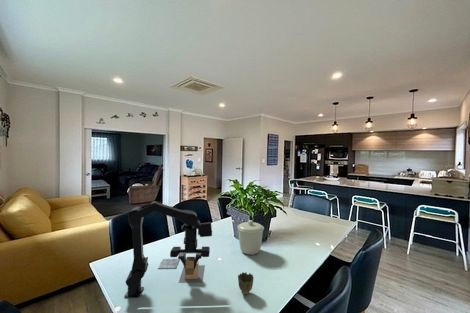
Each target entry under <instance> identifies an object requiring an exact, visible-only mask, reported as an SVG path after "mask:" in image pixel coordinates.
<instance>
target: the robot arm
mask: <svg viewBox="0 0 470 313" xmlns="http://www.w3.org/2000/svg"><path fill="white" fill-rule="evenodd" d="M153 212H154V213H158V214H162V215H165V216H167V217H171V218H174V219H177V220H179V221H181V223H183V225H181V227H180V228H181V229H180V230H181V231H184V238H183V245H184V248H183V249H182V248H181V246H173V247H172V248H171V250H170V252H169V257H170V258H177V259H180V260H179V261H180V262H181V263H182V265H183V268H185V269H186V258H187V255H188V254H190V255H191V254H193V255H195V256H194V257H195V263H194V269H195V267H196V264H197V262H199V260H200V259H202V258H208V257H210V253H211V248H210V246H201V248H198V239H197V235H198V236H199V237H200V238H208V237H212V236H213V230H212V222H211V221H209V222H201V221H200V220H199V218H198V215H197V213H196V212H195V211H194V210H189V209H178V208H176V207H173V206H170V205H168V204H164V203H160V202H158V201H156V200H154V201H152V202H150V203H146V204H145V205H141V206H135V207H133V208H132V209H131V210H130V212H128V214H127V220H128V224H129V226H130V227H131V231H132V232H131V233H132V234H131V235H132V250H133V262H132V265H131V269H130V271H129V274H128V275H127V277H126V279H125V284H126V286H127V292H126V293H125V295H124V298H139V297H140V296H141V294H142V293H143V291H144V290H145V287H144V286H142V278H144V276H145V275H146V272H147V270H148V267H149V262H148V260H149V257H148V256H147V257H146V256H145V255H144V242H143V240H144V238H143V222H144V217H147V216H148V215H150V214H152V213H153Z"/></svg>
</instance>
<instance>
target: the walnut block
mask: <svg viewBox="0 0 470 313" xmlns="http://www.w3.org/2000/svg"><path fill="white" fill-rule="evenodd" d="M195 257H196V256H186V269H185V275H194V272H195V269H194V263H195Z"/></svg>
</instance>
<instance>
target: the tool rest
mask: <svg viewBox="0 0 470 313" xmlns="http://www.w3.org/2000/svg"><path fill="white" fill-rule="evenodd" d="M180 261H181V260H180V259H178V258H162V260H161V262H160V264H159V265H158V267H157V269H158V270H170V269H175V270H176V269H177V267H178V264H179V262H180Z"/></svg>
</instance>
